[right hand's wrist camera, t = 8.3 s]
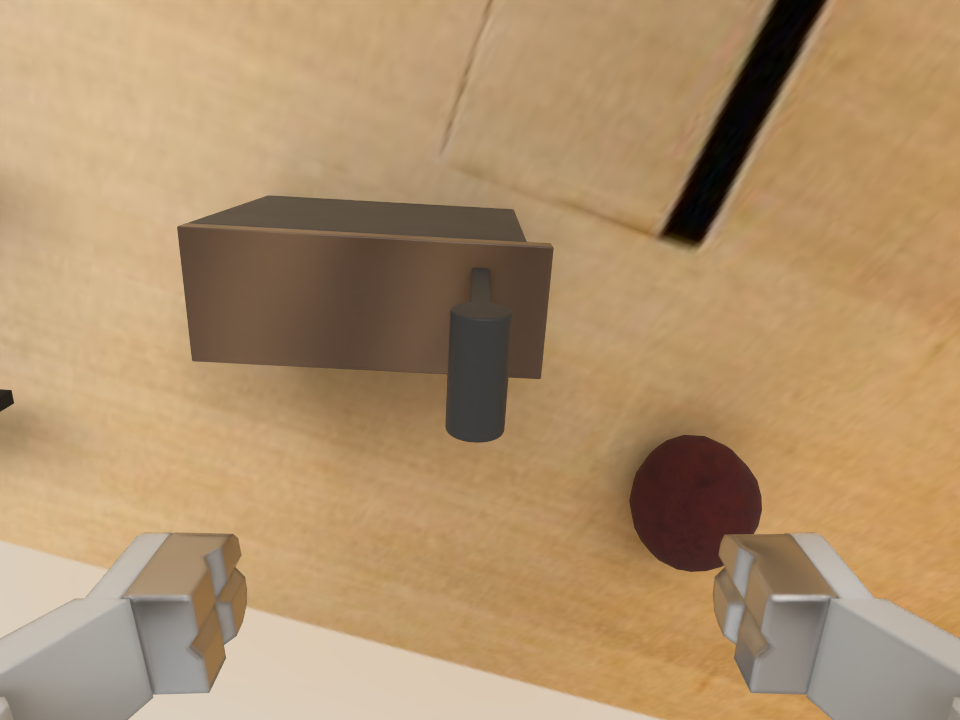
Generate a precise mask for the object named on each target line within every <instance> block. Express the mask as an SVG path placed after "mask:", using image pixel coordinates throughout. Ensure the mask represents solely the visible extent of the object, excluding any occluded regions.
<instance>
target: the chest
mask: <svg viewBox="0 0 960 720" xmlns="http://www.w3.org/2000/svg"><path fill="white" fill-rule="evenodd" d="M189 223H194V224H212V225H230V226H248V227H266V228H283V229H301V230H319V231H337V232H355V233H373V234H391V235H408V236H426V237H444V238H462V239H480V240H498V241H516V242H526V239H525V237H524V234H523V232H522V229H521V227H520V225H519V222H518V220H517V217H516V215H515V212H514V210H512V209H494V208H477V207H459V206H442V205H424V204H407V203H389V202H372V201H354V200H337V199H319V198H301V197H284V196H266V197H263V198H260V199H257V200H254V201H251V202H248V203H245V204H242V205H239V206H236V207H233V208H230V209H227V210H224V211H221V212H219V213H216V214H213V215H210V216H207V217H204V218H201V219H198V220H195V221H192V222H189Z"/></svg>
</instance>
